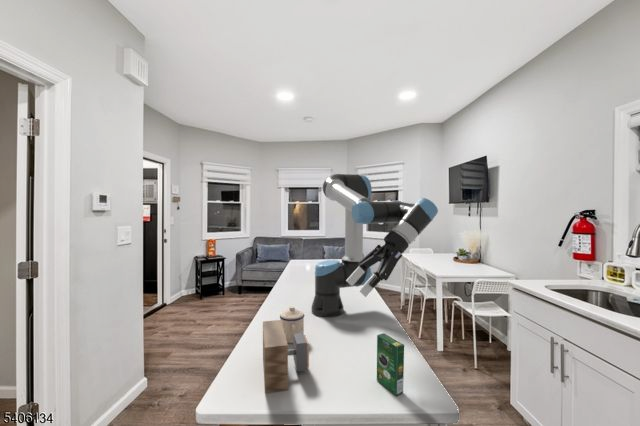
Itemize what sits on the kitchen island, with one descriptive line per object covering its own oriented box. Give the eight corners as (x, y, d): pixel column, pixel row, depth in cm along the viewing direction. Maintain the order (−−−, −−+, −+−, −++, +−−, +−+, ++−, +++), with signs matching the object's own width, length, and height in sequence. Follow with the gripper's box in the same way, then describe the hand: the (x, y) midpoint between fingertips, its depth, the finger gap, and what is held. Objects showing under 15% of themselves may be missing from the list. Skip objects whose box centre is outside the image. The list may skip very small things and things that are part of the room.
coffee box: (405, 393, 75) (405, 343, 75) (396, 397, 73) (396, 346, 73) (384, 378, 82) (383, 332, 82) (376, 380, 80) (376, 334, 80)
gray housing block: (305, 357, 90) (304, 332, 90) (309, 369, 83) (309, 342, 83) (277, 361, 88) (277, 335, 88) (279, 373, 81) (279, 345, 81)
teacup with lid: (279, 333, 111) (279, 303, 111) (302, 332, 112) (302, 302, 112) (280, 348, 99) (280, 315, 99) (306, 346, 101) (306, 313, 101)
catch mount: (281, 356, 94) (281, 319, 94) (287, 390, 76) (287, 345, 76) (262, 358, 93) (262, 321, 92) (265, 393, 75) (264, 347, 75)
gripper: (429, 250, 82) (379, 308, 79) (390, 241, 105) (350, 286, 102) (412, 232, 81) (360, 290, 78) (377, 227, 104) (336, 272, 101)
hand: (355, 288), depth 90 cm, fingers open, 11 cm apart
